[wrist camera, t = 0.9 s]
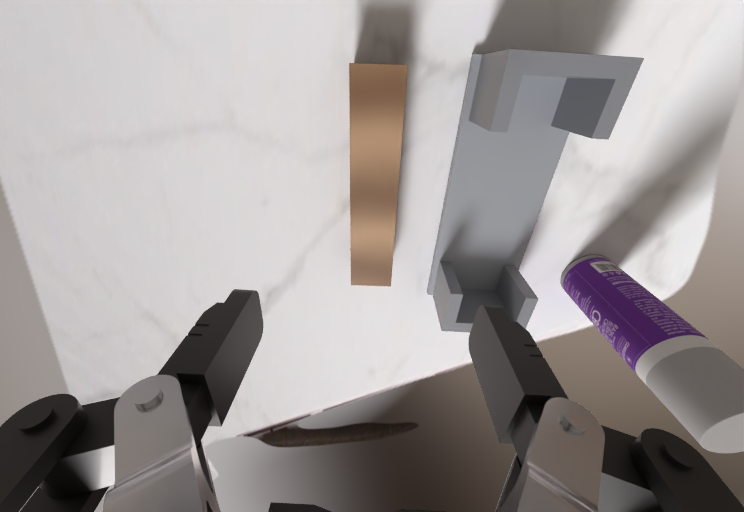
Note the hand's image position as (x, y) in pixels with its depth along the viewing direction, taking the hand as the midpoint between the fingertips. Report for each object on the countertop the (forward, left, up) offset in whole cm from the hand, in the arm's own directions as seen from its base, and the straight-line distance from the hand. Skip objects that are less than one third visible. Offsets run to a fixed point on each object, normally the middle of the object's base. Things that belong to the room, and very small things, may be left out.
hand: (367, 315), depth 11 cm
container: (+8, +21, -16) cm, 28 cm away
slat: (0, 0, -16) cm, 16 cm away
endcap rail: (+1, +10, -16) cm, 19 cm away
